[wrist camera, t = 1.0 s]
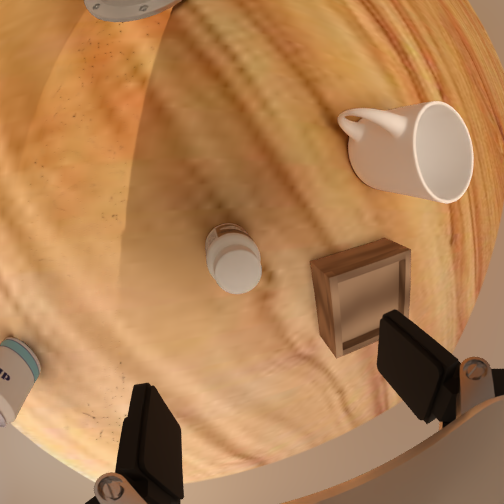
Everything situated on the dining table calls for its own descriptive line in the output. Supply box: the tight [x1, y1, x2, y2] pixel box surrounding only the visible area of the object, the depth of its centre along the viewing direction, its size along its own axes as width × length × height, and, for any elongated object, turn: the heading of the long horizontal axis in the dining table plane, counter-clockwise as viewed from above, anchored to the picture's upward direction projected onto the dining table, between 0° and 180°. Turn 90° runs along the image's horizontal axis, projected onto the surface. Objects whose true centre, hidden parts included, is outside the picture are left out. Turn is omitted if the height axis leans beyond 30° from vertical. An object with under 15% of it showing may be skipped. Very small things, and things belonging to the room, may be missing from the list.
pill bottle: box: [205, 223, 262, 294], centre depth 23 cm, size 4×4×8 cm
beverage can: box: [0, 337, 41, 427], centre depth 20 cm, size 7×7×12 cm
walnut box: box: [310, 238, 411, 358], centre depth 29 cm, size 10×10×5 cm
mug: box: [338, 101, 474, 203], centre depth 22 cm, size 9×12×11 cm
